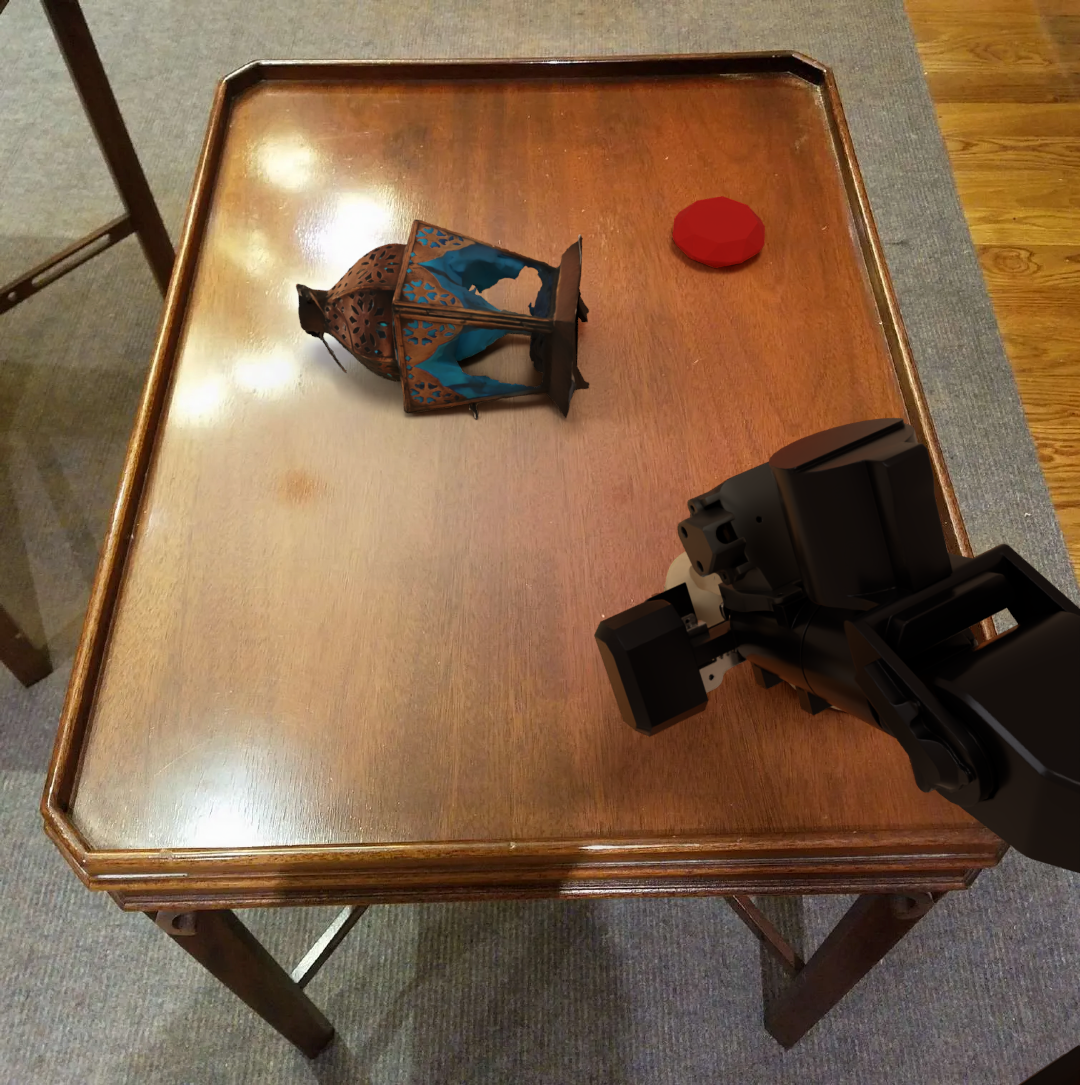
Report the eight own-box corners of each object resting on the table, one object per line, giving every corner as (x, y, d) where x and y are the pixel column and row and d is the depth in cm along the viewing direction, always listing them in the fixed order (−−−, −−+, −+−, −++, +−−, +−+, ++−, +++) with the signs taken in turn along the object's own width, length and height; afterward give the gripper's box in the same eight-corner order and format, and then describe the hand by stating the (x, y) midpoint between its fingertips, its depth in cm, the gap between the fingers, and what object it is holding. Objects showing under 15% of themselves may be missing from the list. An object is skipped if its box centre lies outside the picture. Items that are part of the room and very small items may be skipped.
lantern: (580, 411, 88) (321, 394, 88) (594, 234, 84) (320, 215, 83) (588, 442, 73) (273, 422, 72) (606, 227, 68) (269, 204, 68)
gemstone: (713, 287, 88) (718, 263, 86) (653, 238, 92) (656, 213, 90) (780, 249, 91) (786, 224, 89) (718, 203, 95) (723, 178, 92)
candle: (737, 687, 60) (768, 615, 52) (653, 684, 60) (670, 611, 52) (732, 613, 63) (760, 533, 55) (652, 610, 63) (667, 530, 55)
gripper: (978, 411, 42) (789, 408, 57) (624, 565, 38) (518, 518, 53) (1024, 626, 45) (832, 570, 60) (699, 792, 41) (578, 688, 55)
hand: (696, 582), depth 57 cm, fingers closed on candle, 5 cm apart
